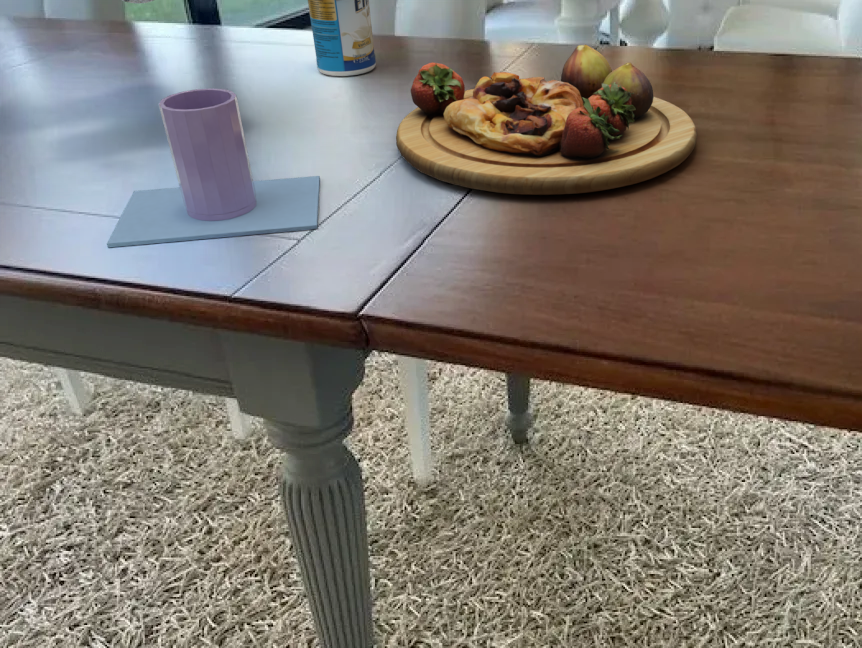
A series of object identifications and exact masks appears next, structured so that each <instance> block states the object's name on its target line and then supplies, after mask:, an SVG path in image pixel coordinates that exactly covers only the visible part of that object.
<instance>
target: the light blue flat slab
mask: <svg viewBox="0 0 862 648" xmlns="http://www.w3.org/2000/svg"><path fill="white" fill-rule="evenodd" d="M253 181H254V186H255V191H256V199H257V205H256V206H255V208H254V209H253V210H251V211H250V212H248V213H246V214H244V215H241V216H238V217H235V218H231V219H226V220H218V221H204V220H197V219H194V218H192V217H190V216H189V215H188V214H187V212H186V208H185V206H184V202H183V198H182V194H181V191H180V187H177V186H176V187H165V188H153V189H141V190H133V192H132V194H131V196H130V198H129V199H128V202H127V203H126V205H125V208H124V210H123V211H122V213H121V215H120V217H119V219H118V221H117V223H116V225H115V227H114V229H113V230H112V232H111V235H109V236H110V237H108V240H107V242H106V246H107V248H119V247H128V246H140V245H141V246H142V245H151V244H152V245H153V244H163V243H173V242H174V243H175V242H186V241H198V240H208V239H220V238H230V237H232V238H233V237H241V236H252V235H253V236H254V235H264V234H265V235H266V234H277V233H285V232H298V231H308V230H309V231H311V230H318V225H319V208H320V207H319V205H320V188H321V186H320V185H321V177H320V175H312V176H311V175H310V176H298V177H288V178H287V177H286V178H277V179H276V178H275V179H262V180H253Z"/></svg>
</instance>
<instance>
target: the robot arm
mask: <svg viewBox="0 0 862 648" xmlns="http://www.w3.org/2000/svg"><path fill="white" fill-rule="evenodd" d="M121 1H122V2H125V3H130V4H138V5H139V4H141V5H142V4H148V3H151V2H154V1H155V0H121Z"/></svg>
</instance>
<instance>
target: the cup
mask: <svg viewBox="0 0 862 648" xmlns="http://www.w3.org/2000/svg"><path fill="white" fill-rule="evenodd" d="M158 107H159V111H160V116H161V119H162V123H163V127H164V132H165V136H166V138H167V143H168V147H169V151H170V155H171V159H172V162H173V166H174V170H175V175H176V179H177V182H178V186H179V187H180V191H181V194H182V198H183V202H184V206H185V208H186V212H187V214H188V215H189V216H190V217H192V218H194V219H197V220H204V221H218V220H226V219H231V218H235V217H238V216H241V215H244V214H246V213H248V212H250V211H251V210H253V209H254V208H255V206H256V205H257V199H256V191H255V186H254V181H255V180H254V176H253V172H252V167H251V166H252V165H251V162H250V157H249V152H248V146H247V142H246V137H245V131H244V127H243V123H242V116H241V112H240V107H239V101H238V97H237V94H236V93H235V92H234V91H232V90H228V89H225V88H211V87H210V88H195V89H190V90H189V89H188V90H184V91H180V92H176V93H173V94H169V95H167V96H166V97H163V98H162V99H160V101H159V103H158Z"/></svg>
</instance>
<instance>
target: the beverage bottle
mask: <svg viewBox="0 0 862 648" xmlns="http://www.w3.org/2000/svg"><path fill="white" fill-rule="evenodd" d="M307 5H308V12H309V18H310V25H311V31H312V39H313V45H314V52H315V57H316V59H315V60H316V61H315V62H316V69H317V70H318V72H320V74H323V75H325V76H331V77H350V76H351V77H352V76H357V75H362V74H366V73H368V72H371V71H372V70H374V69H375V68H376V65H377V61H376V60H377V59H376V54H375V45H374V37H373V28H372V17H371V16H372V15H371V7H370V0H307Z"/></svg>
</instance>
